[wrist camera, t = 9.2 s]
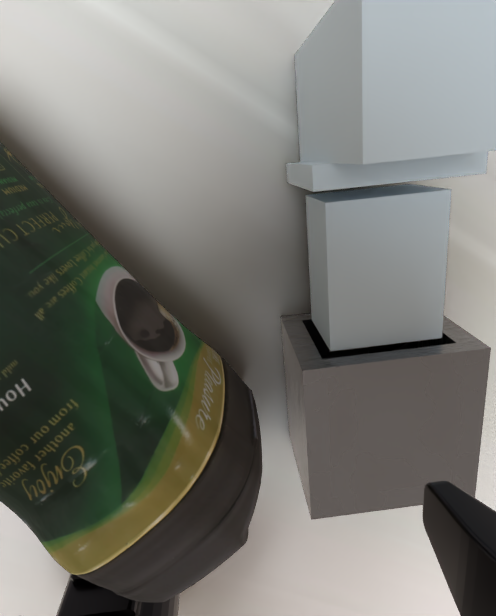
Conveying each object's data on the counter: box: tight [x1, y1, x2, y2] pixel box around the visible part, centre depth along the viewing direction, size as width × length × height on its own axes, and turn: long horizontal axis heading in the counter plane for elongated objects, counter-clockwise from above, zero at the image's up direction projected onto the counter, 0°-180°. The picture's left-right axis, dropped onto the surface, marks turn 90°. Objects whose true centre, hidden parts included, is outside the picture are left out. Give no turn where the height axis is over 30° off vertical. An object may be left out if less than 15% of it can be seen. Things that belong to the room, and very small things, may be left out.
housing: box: [280, 313, 491, 519], centre depth 19 cm, size 7×7×6 cm
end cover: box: [286, 0, 496, 351], centre depth 15 cm, size 11×6×8 cm, turn 5°
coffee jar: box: [0, 142, 262, 603], centre depth 15 cm, size 10×8×19 cm
